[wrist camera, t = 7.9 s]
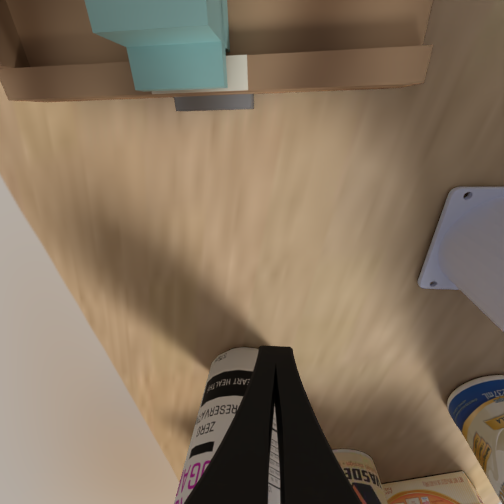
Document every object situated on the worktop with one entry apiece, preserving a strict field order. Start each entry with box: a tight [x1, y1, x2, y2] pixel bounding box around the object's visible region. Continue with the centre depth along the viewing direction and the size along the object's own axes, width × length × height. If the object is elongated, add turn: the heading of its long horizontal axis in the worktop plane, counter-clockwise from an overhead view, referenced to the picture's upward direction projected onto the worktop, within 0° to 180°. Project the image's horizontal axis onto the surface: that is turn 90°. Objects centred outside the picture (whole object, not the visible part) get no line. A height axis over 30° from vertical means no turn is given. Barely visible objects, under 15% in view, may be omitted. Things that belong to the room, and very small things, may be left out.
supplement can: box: [174, 347, 280, 504], centre depth 21 cm, size 8×8×15 cm
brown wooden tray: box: [0, 0, 433, 111], centre depth 12 cm, size 20×8×5 cm, turn 92°
